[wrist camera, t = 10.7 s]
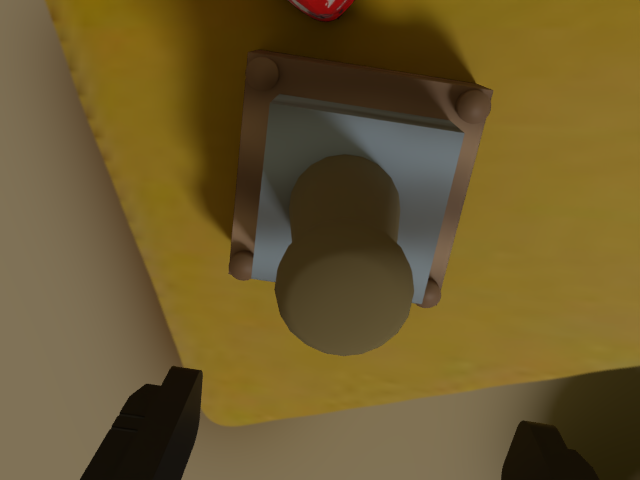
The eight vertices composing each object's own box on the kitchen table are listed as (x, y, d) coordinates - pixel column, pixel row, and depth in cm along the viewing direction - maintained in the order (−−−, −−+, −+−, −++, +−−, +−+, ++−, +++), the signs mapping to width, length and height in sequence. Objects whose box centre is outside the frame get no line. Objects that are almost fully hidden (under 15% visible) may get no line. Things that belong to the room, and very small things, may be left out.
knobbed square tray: (259, 49, 33) (233, 55, 25) (476, 83, 33) (514, 99, 26) (239, 250, 38) (214, 303, 31) (427, 278, 38) (447, 338, 31)
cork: (355, 279, 30) (360, 409, 20) (267, 220, 29) (224, 324, 18) (423, 197, 28) (469, 295, 18) (332, 130, 27) (324, 192, 16)
